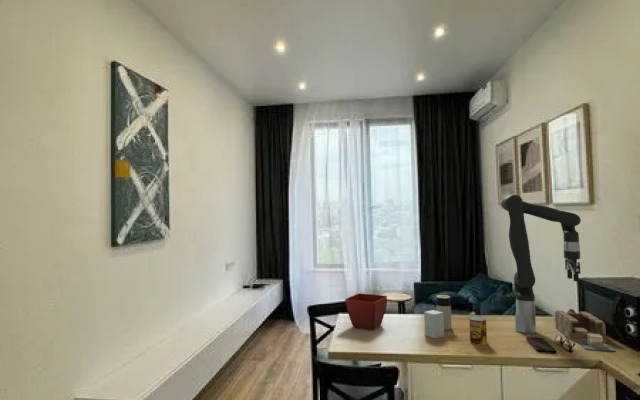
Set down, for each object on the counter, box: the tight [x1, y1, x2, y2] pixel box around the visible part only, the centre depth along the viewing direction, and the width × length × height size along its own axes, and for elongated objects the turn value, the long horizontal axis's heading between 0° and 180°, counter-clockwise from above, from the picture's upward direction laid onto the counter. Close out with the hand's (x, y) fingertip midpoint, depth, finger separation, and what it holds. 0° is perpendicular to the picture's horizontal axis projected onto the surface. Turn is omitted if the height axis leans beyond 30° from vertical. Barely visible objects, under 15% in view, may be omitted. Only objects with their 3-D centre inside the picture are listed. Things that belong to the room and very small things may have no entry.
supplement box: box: [423, 309, 445, 339], centre depth 207 cm, size 7×7×13 cm
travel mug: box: [435, 294, 452, 331], centre depth 220 cm, size 8×8×18 cm
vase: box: [566, 308, 577, 313], centre depth 222 cm, size 7×7×9 cm
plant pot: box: [344, 293, 388, 331], centre depth 226 cm, size 19×19×17 cm
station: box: [554, 310, 616, 353], centre depth 197 cm, size 34×16×10 cm, turn 166°
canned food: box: [468, 315, 488, 346], centre depth 195 cm, size 8×8×12 cm
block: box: [587, 334, 604, 347], centre depth 186 cm, size 4×5×5 cm
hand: (573, 279), depth 209 cm, fingers open, 8 cm apart
